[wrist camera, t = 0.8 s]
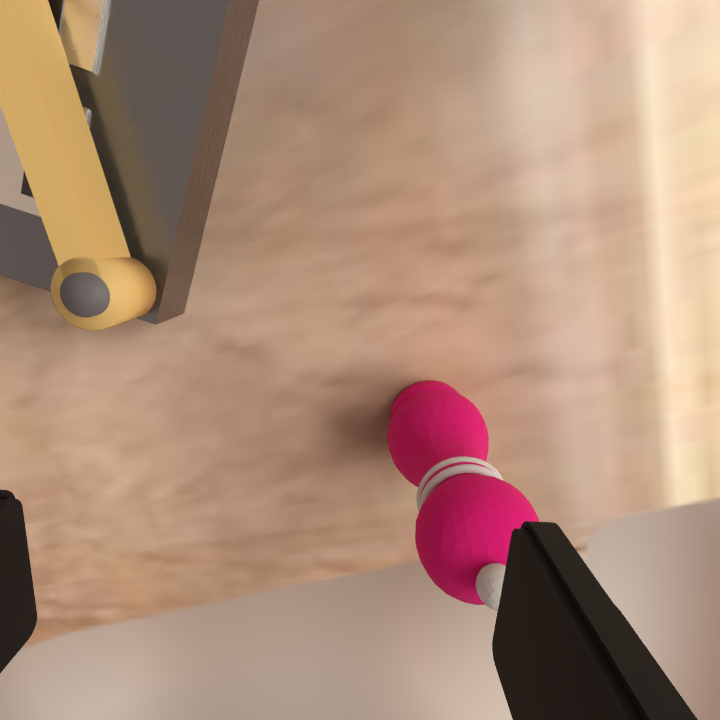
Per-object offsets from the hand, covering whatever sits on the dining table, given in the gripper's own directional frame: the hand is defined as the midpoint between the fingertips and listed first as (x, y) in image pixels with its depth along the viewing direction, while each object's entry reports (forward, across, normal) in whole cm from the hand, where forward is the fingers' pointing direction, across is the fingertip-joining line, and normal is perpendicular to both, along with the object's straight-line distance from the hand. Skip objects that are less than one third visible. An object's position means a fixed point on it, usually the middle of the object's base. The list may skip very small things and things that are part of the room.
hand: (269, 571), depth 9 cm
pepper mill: (+28, -8, +7) cm, 30 cm away
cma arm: (+22, +15, -10) cm, 29 cm away
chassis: (+28, +17, -13) cm, 35 cm away
